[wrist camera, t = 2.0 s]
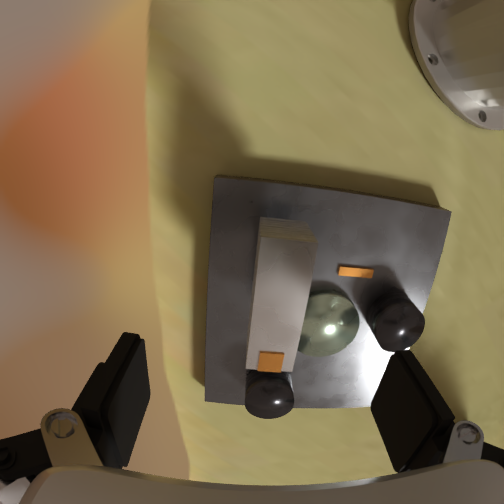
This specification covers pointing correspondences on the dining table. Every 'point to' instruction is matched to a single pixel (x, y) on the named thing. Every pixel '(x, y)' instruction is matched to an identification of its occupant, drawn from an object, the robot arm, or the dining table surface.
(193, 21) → the dining table surface
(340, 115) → the dining table surface
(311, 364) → the base
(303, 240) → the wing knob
